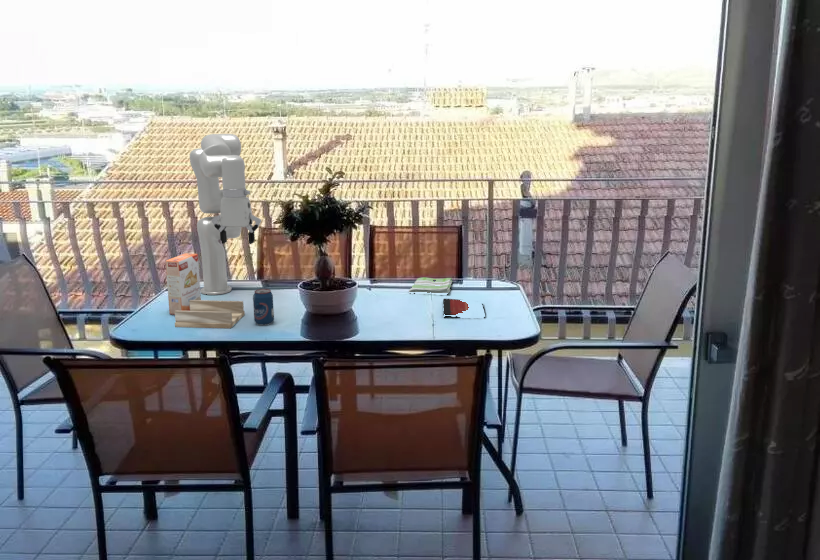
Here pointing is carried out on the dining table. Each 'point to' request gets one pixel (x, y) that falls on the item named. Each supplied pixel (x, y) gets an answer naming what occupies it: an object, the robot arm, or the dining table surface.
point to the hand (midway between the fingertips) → (237, 243)
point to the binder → (454, 306)
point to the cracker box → (182, 281)
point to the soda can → (263, 306)
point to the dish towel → (432, 285)
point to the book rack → (210, 314)
